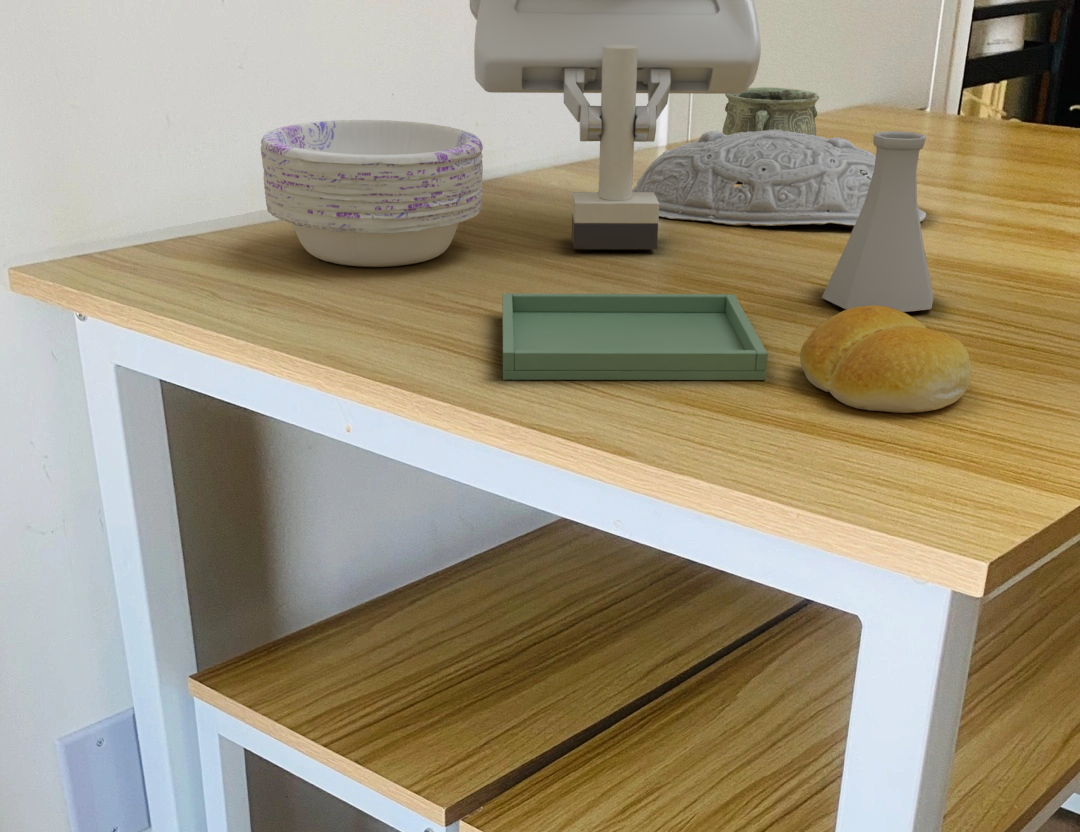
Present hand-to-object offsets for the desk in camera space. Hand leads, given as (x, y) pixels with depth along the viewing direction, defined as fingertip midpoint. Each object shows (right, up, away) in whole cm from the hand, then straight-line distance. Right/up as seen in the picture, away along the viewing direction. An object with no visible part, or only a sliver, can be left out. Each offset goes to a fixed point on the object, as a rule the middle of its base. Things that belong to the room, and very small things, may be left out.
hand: (618, 136), depth 96 cm
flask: (+16, -14, -8) cm, 23 cm away
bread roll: (+13, -23, -23) cm, 35 cm away
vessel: (+16, +12, +34) cm, 39 cm away
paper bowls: (-17, -8, +3) cm, 19 cm away
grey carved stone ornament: (+13, +1, +17) cm, 22 cm away
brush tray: (-1, -19, -17) cm, 26 cm away
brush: (0, -6, +4) cm, 7 cm away
